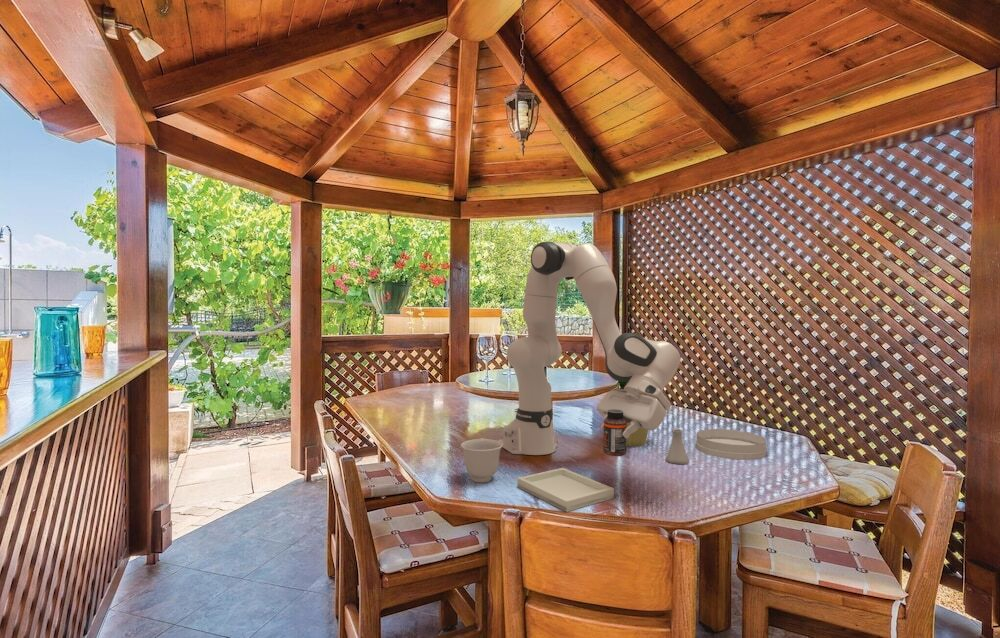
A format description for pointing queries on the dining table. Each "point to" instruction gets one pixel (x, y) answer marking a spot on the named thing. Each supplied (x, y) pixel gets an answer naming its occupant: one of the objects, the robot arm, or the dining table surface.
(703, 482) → the dining table surface
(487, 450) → the teacup
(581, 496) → the tray
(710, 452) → the dish
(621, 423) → the supplement bottle
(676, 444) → the flask
